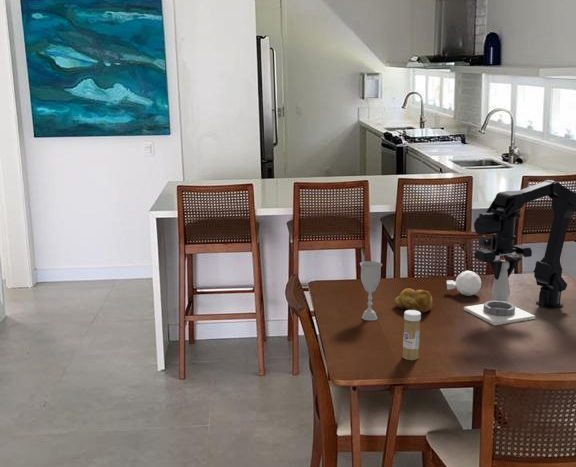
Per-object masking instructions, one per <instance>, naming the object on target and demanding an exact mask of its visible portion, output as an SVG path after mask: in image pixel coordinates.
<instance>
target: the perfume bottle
mask: <svg viewBox="0 0 576 467" xmlns="http://www.w3.org/2000/svg"><path fill="white" fill-rule="evenodd" d="M482 283H483V282H482V280H481V277H480V275H479V274H477V273H476V272H474V271H471V270H464V271H462V272H460V273H459V275H458V276H456V279H455V281H454V280H452V279H451V280H446V287H447V288H446V289H447V290H454V289H456V290H457V292H459V293H460V294H461V295H464V296H467V297H471V296H474V295H476V294H477V293H478V292H479V291H480V290H481V287H482Z"/></svg>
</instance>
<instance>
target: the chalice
mask: <svg viewBox="0 0 576 467" xmlns="http://www.w3.org/2000/svg"><path fill="white" fill-rule="evenodd" d="M359 265H360V281H361V283H362V285H363V288H364V290H365V291H366V293H367V294H368V296H367V300H368V302H366V304H367V309H366V310H364V312H363V314H362V315H361V319H363V320H364V321H376V320H378V316H377V314H376V312H375V310H373V308H372V305H373V302H372V300H373V296H372V295H373V293H374V292H375V291H376V289H377V288H378V286H379V284H380V281H381V276H382V275H381V274H382V273H381V271H382V270H381V268H382V266H383V263H382V262H379V261H369V260H368V261H366V260H365V261H361V262H360V263H359Z"/></svg>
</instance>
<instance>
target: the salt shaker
mask: <svg viewBox="0 0 576 467" xmlns="http://www.w3.org/2000/svg"><path fill="white" fill-rule="evenodd" d="M500 260H501V261H503V262H502V267H501V271H500V276H499V279H498V280H496V279H495V278H494V281H493V283H492V284H493V285H492V288H491V295H492V298H493V301H504V302H507V300H508V299H509V298H510V294H511V290H510V283H509V282H510V281H509V278H508V271H507V269H508V268H509V266H510V265H509V262H508V261H505V259H500Z"/></svg>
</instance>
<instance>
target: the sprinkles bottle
mask: <svg viewBox="0 0 576 467" xmlns="http://www.w3.org/2000/svg"><path fill="white" fill-rule="evenodd" d="M403 319H404V325H403V336H402V337H403V338H402V341H403V342H402V358H403V359H405V360H407V361H416V360H418V359H419V358H420V356H419V347H420V332H421V330H420V326H421V319H422V313H420V312H419V311H416V310H407V309H406V310H405V311H404V313H403Z"/></svg>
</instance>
